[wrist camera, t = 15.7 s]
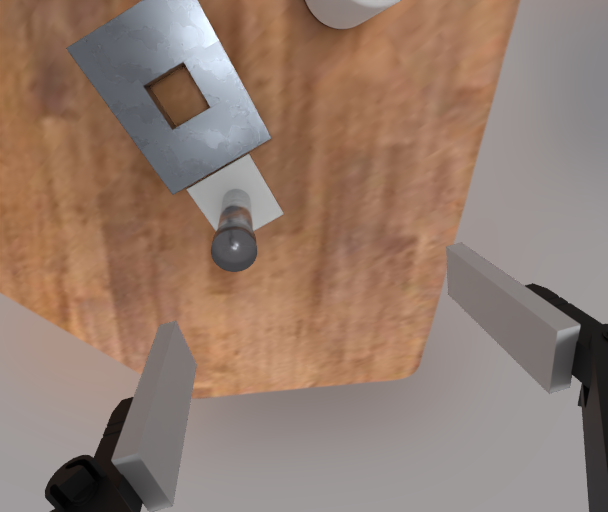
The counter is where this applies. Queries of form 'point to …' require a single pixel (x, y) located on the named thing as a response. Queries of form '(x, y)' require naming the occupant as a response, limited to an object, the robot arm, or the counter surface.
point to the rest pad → (236, 177)
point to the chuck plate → (156, 65)
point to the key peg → (235, 233)
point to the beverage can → (347, 11)
